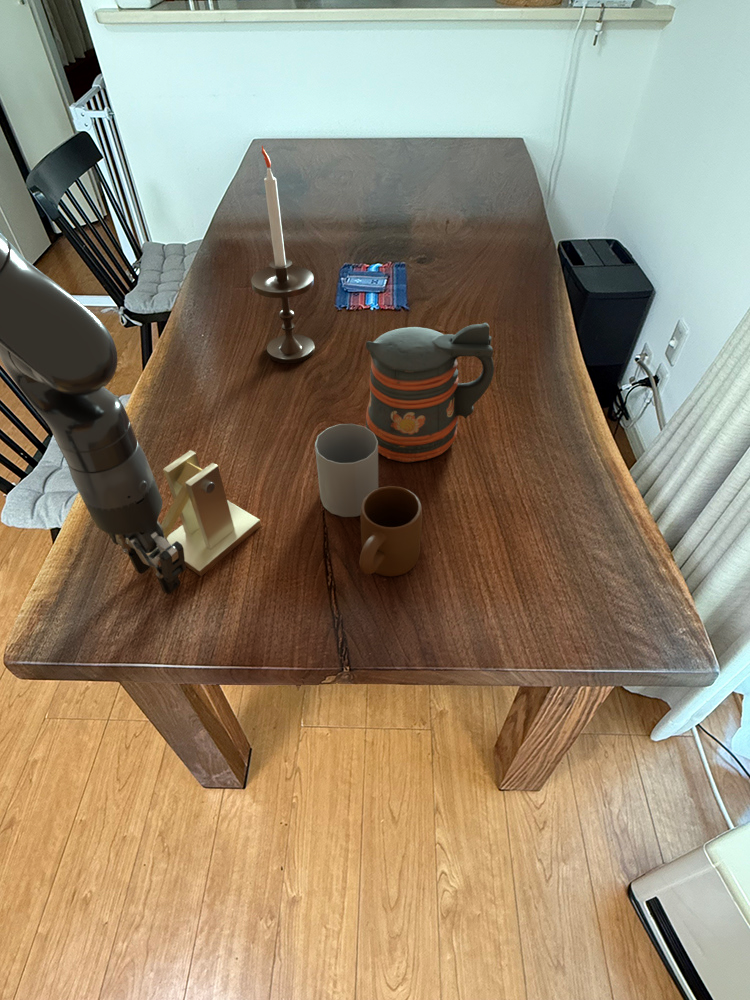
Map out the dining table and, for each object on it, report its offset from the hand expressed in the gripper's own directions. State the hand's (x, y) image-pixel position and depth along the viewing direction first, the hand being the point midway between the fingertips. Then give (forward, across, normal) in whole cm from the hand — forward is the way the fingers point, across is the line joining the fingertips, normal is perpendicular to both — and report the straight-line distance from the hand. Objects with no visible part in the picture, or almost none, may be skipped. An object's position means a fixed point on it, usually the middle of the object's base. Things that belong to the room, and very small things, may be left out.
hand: (158, 578), depth 76 cm
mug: (+1, +22, +18) cm, 29 cm away
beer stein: (+1, +11, +45) cm, 46 cm away
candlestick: (+1, -24, +51) cm, 56 cm away
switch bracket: (0, 0, +9) cm, 9 cm away
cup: (+1, +10, +26) cm, 28 cm away
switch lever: (-6, 0, +6) cm, 9 cm away
